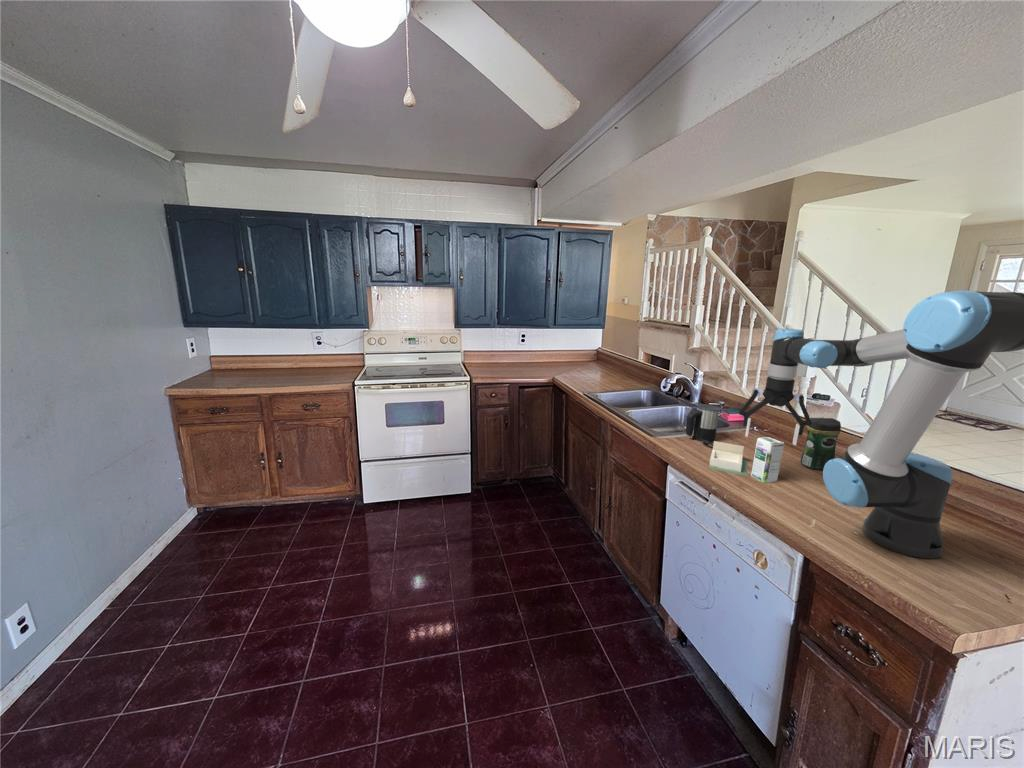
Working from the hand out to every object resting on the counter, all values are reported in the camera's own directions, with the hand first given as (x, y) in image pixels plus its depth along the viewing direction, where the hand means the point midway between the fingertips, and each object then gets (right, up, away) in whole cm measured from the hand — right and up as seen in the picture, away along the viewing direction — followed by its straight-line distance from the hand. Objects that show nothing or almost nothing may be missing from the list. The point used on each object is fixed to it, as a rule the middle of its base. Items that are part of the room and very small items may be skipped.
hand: (769, 439), depth 136 cm
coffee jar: (+26, -12, +15) cm, 33 cm away
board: (-6, -11, +14) cm, 19 cm away
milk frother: (-3, -7, +36) cm, 37 cm away
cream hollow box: (-8, -11, +14) cm, 19 cm away
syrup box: (0, -14, +3) cm, 15 cm away
